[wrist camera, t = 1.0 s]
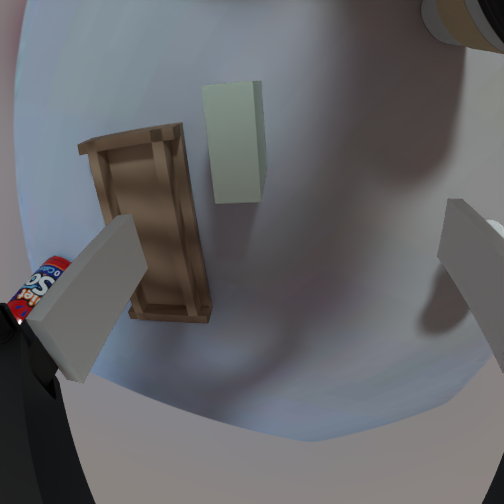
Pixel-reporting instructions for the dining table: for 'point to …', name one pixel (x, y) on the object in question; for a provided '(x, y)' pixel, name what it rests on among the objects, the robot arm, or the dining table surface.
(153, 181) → the wooden tray
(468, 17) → the coffee cup
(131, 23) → the dining table surface
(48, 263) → the soda can
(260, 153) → the pale green block
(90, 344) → the robot arm
